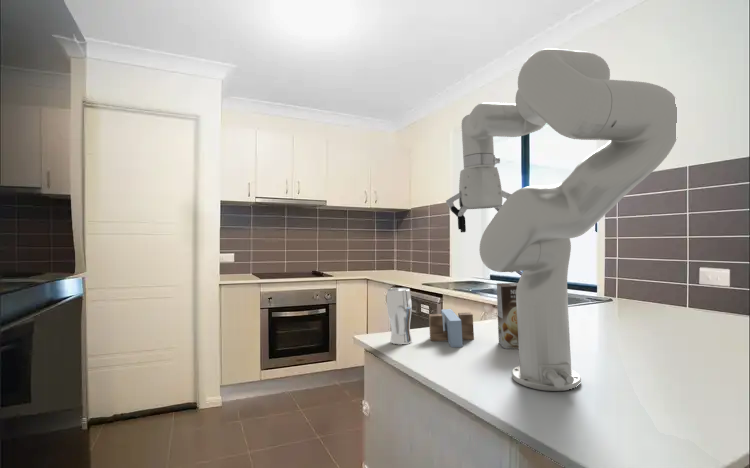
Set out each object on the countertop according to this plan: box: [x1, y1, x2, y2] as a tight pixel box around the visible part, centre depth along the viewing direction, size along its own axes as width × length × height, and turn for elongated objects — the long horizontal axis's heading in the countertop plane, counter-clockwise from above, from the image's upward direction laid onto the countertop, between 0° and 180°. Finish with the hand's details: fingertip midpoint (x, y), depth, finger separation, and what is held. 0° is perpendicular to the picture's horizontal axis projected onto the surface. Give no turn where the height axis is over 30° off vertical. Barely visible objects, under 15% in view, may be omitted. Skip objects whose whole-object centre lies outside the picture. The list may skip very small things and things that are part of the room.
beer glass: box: [386, 287, 413, 346], centre depth 110 cm, size 7×7×15 cm
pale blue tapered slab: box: [440, 308, 464, 348], centre depth 111 cm, size 16×3×7 cm, turn 178°
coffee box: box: [496, 282, 519, 350], centre depth 102 cm, size 9×6×16 cm
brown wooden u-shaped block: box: [428, 311, 475, 342], centre depth 111 cm, size 12×3×7 cm, turn 89°
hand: (482, 231), depth 98 cm, fingers open, 9 cm apart
